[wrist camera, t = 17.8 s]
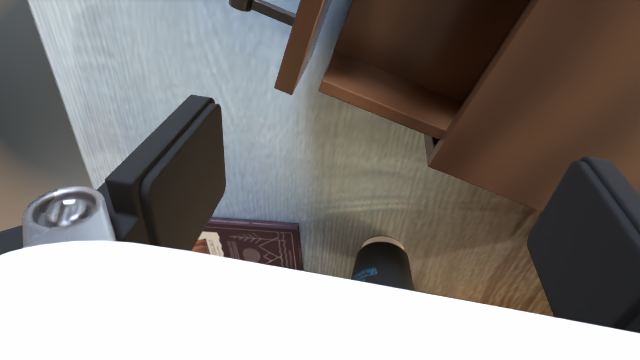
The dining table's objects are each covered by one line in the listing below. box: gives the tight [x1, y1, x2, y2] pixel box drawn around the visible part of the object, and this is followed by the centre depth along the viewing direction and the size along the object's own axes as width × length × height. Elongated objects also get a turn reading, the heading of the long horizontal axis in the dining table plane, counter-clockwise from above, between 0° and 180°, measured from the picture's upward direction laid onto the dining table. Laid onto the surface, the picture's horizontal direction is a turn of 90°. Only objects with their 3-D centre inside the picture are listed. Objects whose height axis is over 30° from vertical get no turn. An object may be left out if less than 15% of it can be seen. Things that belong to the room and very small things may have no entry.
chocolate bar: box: [192, 217, 303, 271], centre depth 45 cm, size 9×1×18 cm
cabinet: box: [424, 0, 640, 212], centre depth 24 cm, size 15×14×9 cm
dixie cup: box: [351, 236, 414, 291], centre depth 38 cm, size 8×8×11 cm
